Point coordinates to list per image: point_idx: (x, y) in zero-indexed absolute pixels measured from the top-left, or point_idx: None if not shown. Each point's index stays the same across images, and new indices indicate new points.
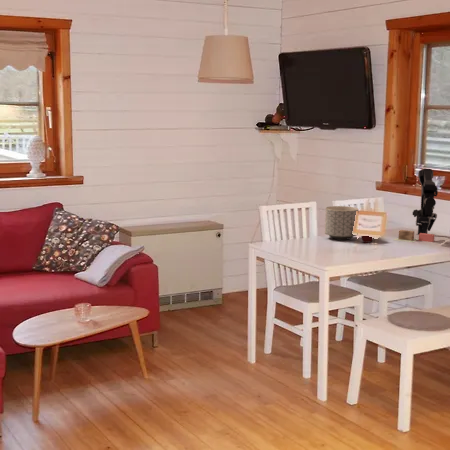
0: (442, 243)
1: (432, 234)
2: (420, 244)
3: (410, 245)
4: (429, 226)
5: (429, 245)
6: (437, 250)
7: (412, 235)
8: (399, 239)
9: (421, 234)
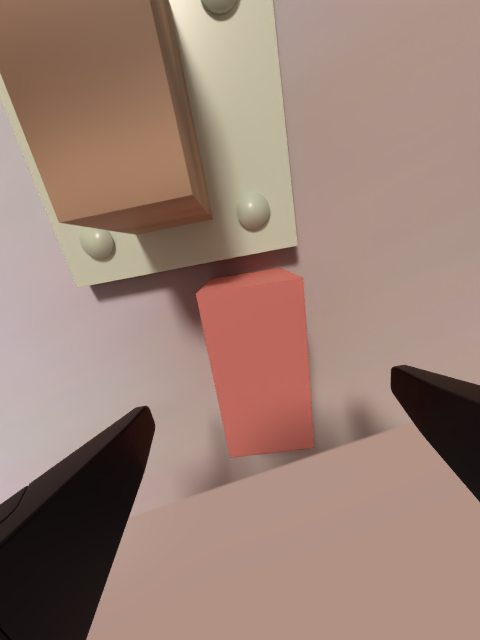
0: None
1: (291, 434)
2: (125, 342)
3: (4, 299)
4: (464, 442)
5: None
6: None
7: (113, 225)
8: None
9: (205, 330)
